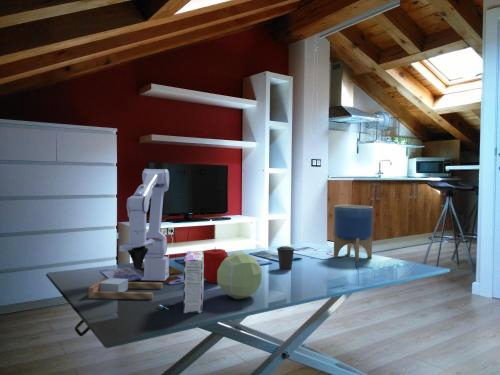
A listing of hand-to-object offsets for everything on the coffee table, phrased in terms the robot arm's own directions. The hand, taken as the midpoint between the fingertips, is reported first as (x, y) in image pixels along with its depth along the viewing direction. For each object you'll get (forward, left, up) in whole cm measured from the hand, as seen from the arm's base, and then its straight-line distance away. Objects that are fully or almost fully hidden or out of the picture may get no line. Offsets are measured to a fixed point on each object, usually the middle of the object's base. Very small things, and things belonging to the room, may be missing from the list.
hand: (137, 268), depth 140 cm
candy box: (-22, +12, -9) cm, 27 cm away
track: (+3, 0, -9) cm, 9 cm away
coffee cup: (-54, -40, -9) cm, 68 cm away
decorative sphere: (-36, +2, -9) cm, 37 cm away
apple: (-25, -17, -9) cm, 31 cm away
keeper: (+9, -1, -9) cm, 13 cm away
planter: (-90, -68, -9) cm, 113 cm away
